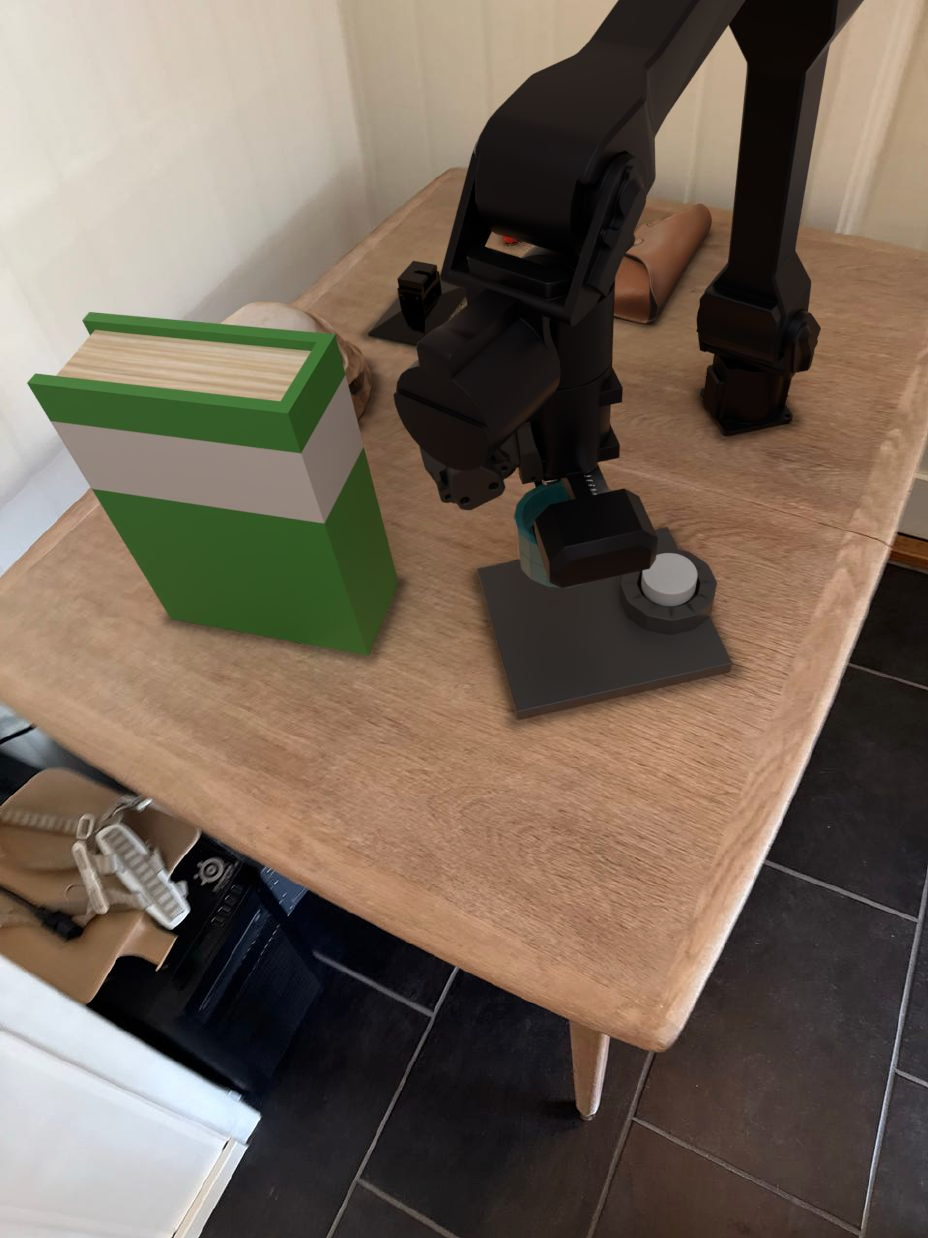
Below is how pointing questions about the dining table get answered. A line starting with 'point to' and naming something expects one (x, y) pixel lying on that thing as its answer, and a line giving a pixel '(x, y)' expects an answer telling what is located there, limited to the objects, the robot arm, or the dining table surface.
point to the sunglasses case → (658, 263)
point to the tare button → (669, 580)
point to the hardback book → (230, 473)
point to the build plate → (418, 306)
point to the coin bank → (300, 320)
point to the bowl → (524, 535)
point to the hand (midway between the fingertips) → (563, 546)
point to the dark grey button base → (598, 636)
